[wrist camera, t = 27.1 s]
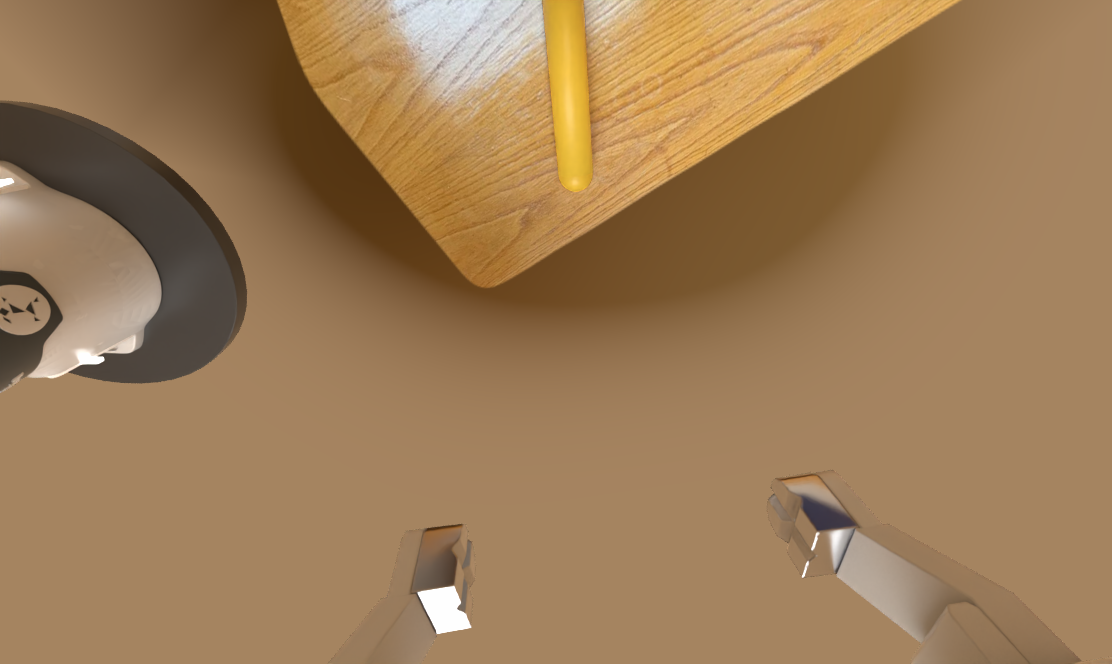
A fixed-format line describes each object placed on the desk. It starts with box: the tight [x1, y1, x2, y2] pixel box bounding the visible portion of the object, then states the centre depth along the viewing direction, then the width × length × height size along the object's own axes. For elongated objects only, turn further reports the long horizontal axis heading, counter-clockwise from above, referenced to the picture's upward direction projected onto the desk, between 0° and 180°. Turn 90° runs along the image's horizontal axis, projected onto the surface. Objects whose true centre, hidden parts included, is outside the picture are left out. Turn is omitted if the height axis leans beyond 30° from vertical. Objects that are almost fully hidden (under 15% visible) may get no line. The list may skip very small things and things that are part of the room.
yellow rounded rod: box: [542, 0, 593, 192], centre depth 34 cm, size 22×3×3 cm
